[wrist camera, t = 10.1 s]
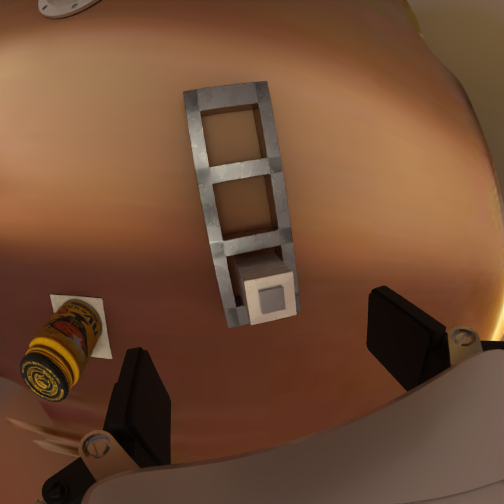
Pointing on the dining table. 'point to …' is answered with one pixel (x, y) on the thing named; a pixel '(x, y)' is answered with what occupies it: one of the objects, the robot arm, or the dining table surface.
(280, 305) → the block
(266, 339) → the dining table surface
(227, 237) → the grey flat rectangular frame
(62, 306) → the condiment
